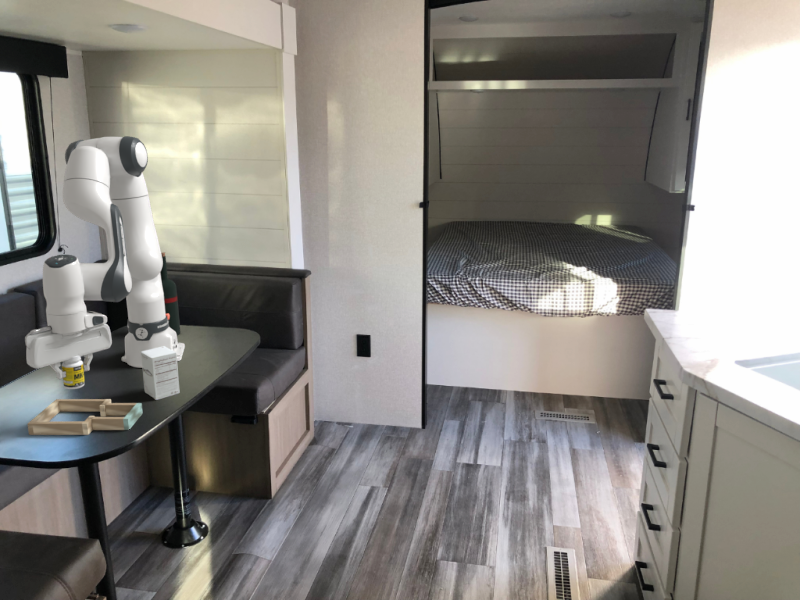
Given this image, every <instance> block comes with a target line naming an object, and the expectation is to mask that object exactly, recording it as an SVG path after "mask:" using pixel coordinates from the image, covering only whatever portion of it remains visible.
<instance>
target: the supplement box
mask: <svg viewBox="0 0 800 600" xmlns="http://www.w3.org/2000/svg"><path fill="white" fill-rule="evenodd" d="M141 359H142V379H143V389H144V393H145V394H147V395H149V397H152V398H153V399H154V400H156V401H157V400H161V399H165V398H168V397H172V396H175V395H179V394H180V393H181V392H180V382H179V380H180V379H179V370H178V361H177V355H176V352H174V351H173V350H171V349H169V348H167V347H165V346H162V347H158V348H154V349H150V350H146V351H142V352H141Z"/></svg>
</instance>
